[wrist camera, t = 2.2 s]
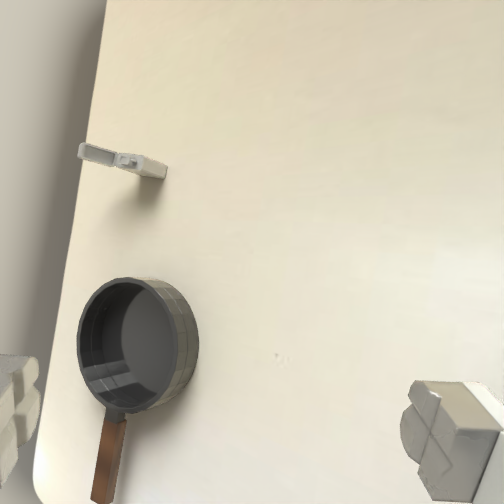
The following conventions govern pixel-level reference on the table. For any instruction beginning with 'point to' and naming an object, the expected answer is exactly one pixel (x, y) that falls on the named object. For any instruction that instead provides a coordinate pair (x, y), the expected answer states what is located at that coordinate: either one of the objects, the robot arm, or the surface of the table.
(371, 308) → the table surface
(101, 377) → the pan
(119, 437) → the pan handle
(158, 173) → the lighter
